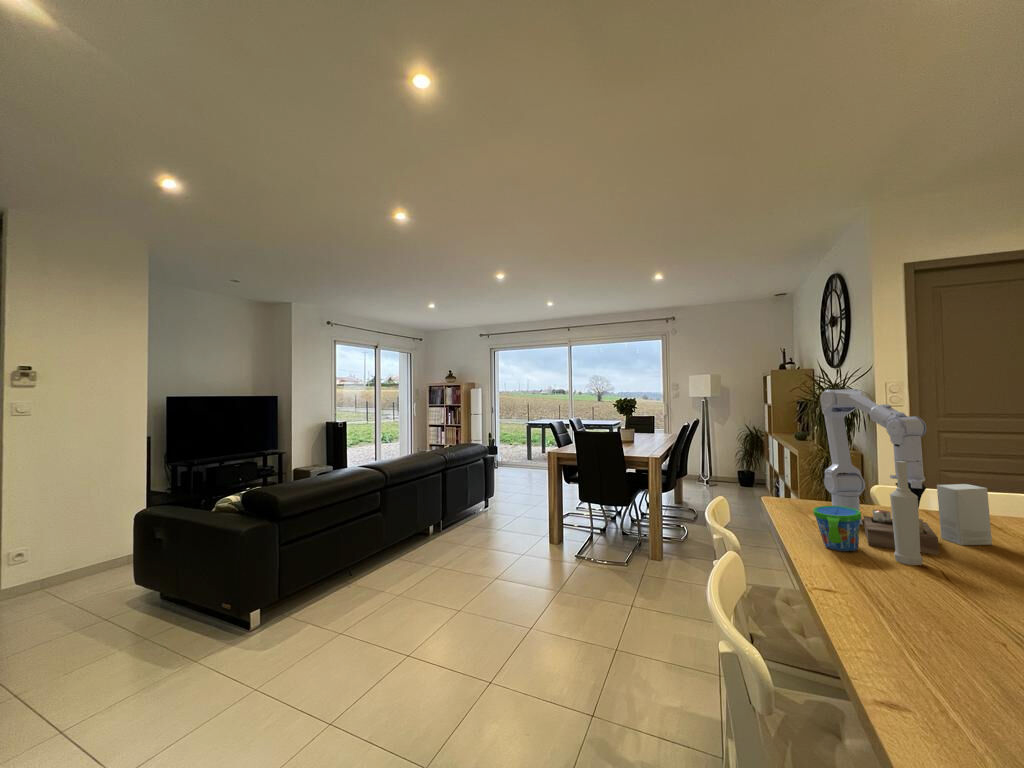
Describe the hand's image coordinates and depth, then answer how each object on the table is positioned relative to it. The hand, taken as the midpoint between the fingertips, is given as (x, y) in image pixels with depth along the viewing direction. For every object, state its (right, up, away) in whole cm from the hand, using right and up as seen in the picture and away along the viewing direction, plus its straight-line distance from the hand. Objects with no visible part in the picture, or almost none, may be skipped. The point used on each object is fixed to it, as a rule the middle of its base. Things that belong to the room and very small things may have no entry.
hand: (912, 510), depth 116 cm
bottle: (-11, -10, -11) cm, 18 cm away
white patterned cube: (-1, -7, +8) cm, 11 cm away
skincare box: (+17, -10, +2) cm, 20 cm away
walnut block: (0, -10, +4) cm, 11 cm away
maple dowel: (0, -7, 0) cm, 7 cm away
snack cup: (-19, -11, 0) cm, 22 cm away
